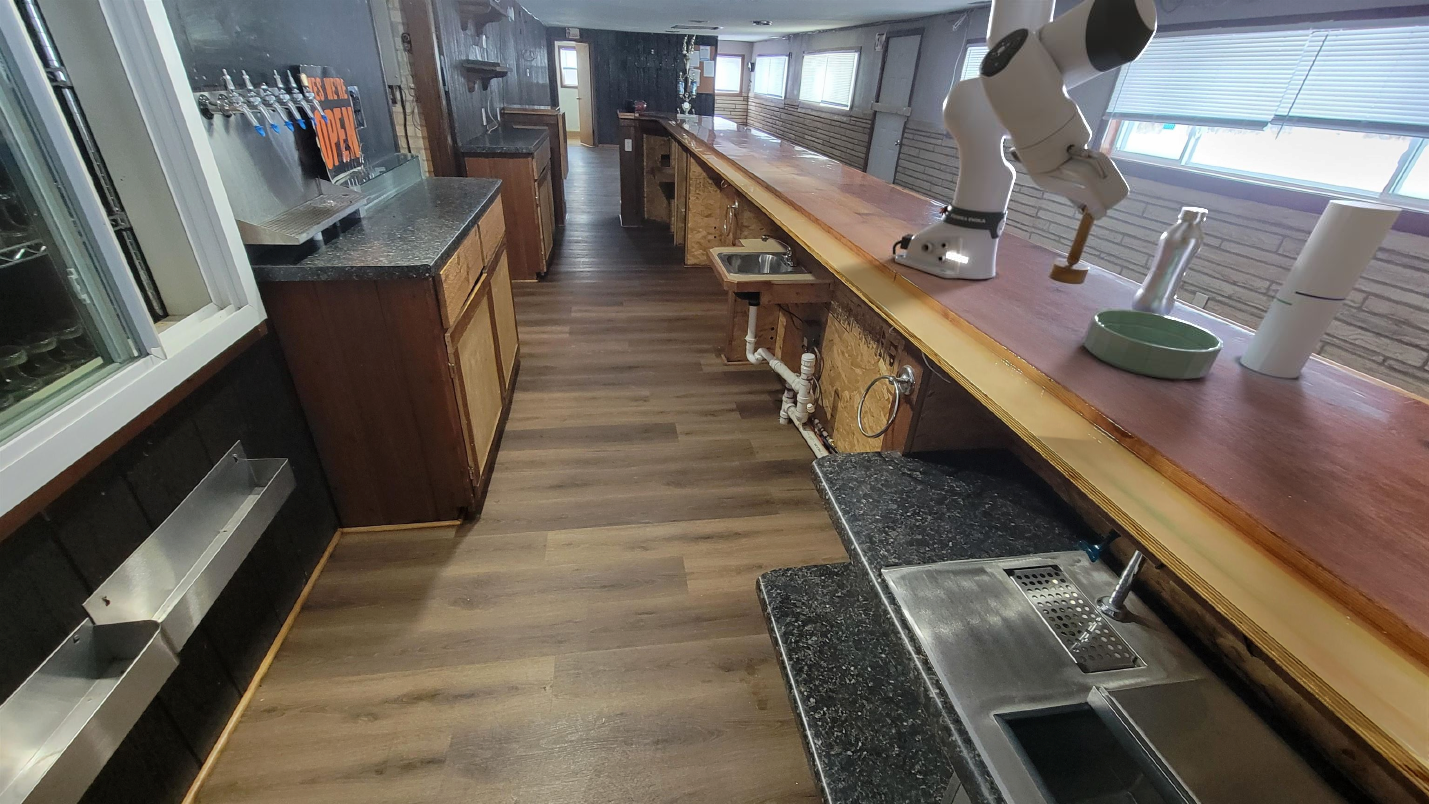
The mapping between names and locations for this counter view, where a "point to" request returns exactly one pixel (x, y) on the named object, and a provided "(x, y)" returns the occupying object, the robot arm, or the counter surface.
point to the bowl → (1151, 344)
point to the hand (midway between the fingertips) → (1093, 214)
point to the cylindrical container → (1318, 285)
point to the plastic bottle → (1171, 263)
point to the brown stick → (1074, 256)
